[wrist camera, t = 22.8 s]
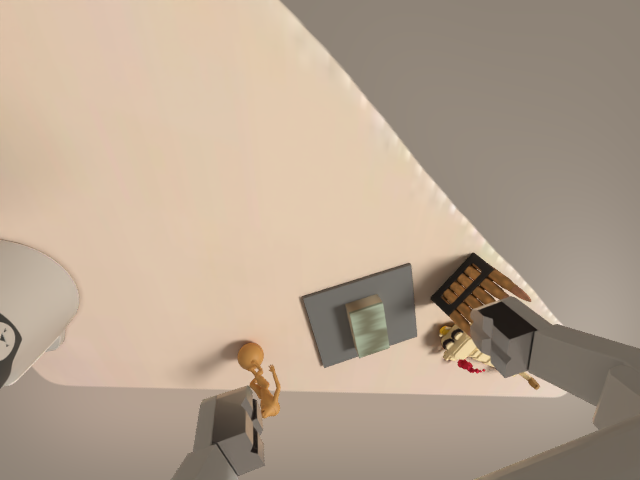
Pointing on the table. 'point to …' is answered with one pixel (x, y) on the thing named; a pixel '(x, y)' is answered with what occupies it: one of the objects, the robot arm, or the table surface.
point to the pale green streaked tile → (368, 325)
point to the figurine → (260, 378)
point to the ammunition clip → (473, 290)
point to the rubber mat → (330, 303)
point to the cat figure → (468, 351)
